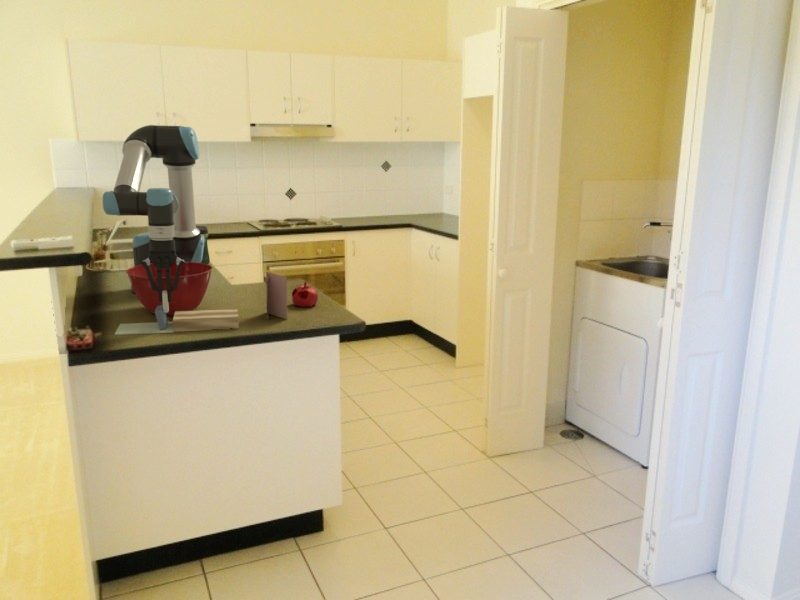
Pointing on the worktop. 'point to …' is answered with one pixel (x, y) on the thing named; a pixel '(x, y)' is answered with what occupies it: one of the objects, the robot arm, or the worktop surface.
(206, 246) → the coffee jar
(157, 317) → the blue-grey flat block
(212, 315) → the tan block
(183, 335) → the worktop surface
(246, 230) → the worktop surface
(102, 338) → the worktop surface
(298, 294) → the pomegranate
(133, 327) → the rubber mat
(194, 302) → the mixing bowl
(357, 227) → the worktop surface
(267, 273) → the greeting card
